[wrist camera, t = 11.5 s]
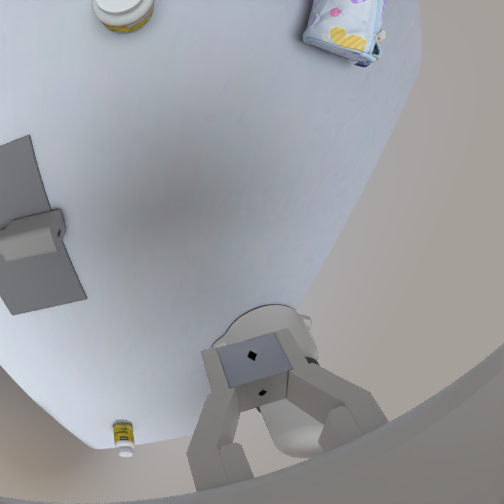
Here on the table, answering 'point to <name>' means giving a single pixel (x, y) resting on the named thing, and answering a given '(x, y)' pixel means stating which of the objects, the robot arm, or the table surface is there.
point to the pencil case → (347, 28)
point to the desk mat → (40, 266)
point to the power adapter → (32, 236)
